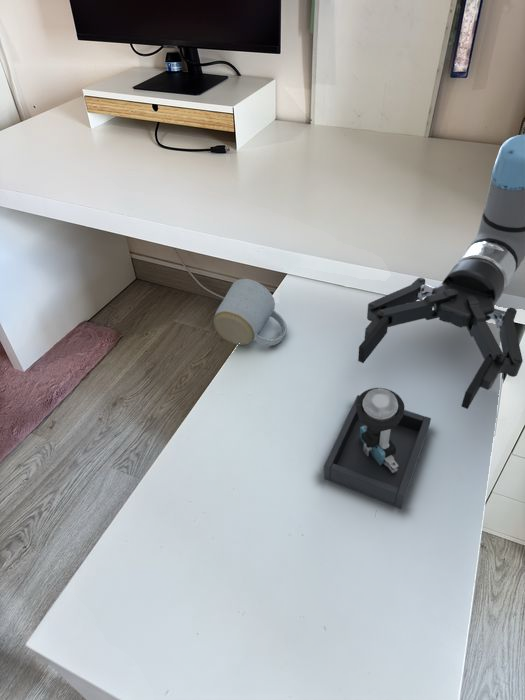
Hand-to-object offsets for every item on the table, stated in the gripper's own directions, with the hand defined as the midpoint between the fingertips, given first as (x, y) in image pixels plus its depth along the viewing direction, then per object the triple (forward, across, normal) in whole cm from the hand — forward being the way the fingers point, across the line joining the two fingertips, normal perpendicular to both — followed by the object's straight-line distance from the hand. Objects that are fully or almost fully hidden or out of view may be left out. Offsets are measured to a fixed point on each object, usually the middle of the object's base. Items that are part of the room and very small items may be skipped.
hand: (410, 376), depth 61 cm
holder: (+7, 0, +8) cm, 11 cm away
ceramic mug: (-3, -27, +8) cm, 29 cm away
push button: (+7, 0, +8) cm, 11 cm away
